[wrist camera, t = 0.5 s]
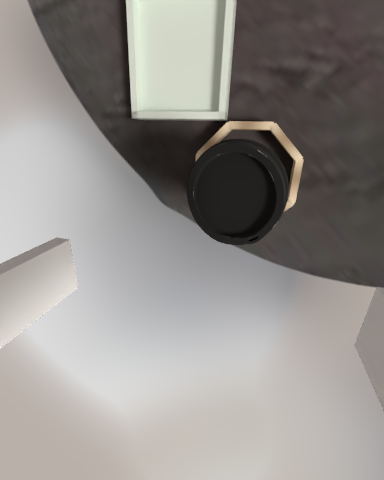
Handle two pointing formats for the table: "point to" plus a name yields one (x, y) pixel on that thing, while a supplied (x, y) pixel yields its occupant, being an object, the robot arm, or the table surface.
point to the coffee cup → (237, 191)
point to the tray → (180, 58)
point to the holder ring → (279, 136)
